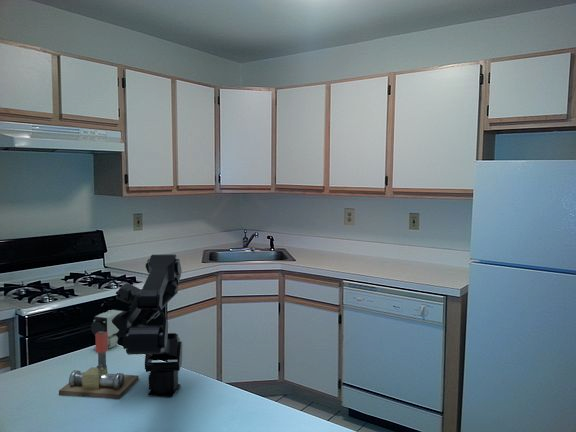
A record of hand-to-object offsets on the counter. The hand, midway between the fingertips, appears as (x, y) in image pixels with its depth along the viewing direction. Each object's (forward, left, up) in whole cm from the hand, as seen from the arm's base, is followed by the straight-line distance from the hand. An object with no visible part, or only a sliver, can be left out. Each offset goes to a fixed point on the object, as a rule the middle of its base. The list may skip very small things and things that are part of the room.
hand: (117, 336), depth 119 cm
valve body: (+4, +4, -12) cm, 14 cm away
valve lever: (+4, 0, -10) cm, 11 cm away
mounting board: (+4, +2, -13) cm, 14 cm away
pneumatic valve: (+16, -26, -13) cm, 33 cm away
